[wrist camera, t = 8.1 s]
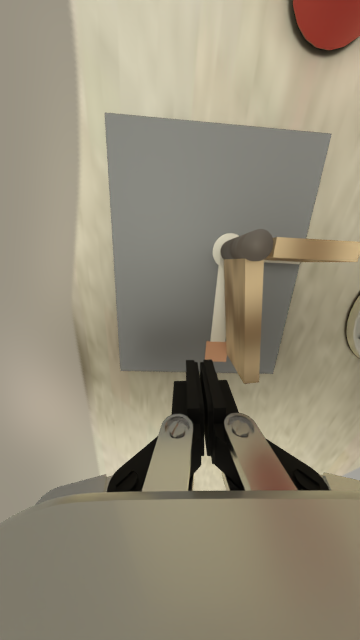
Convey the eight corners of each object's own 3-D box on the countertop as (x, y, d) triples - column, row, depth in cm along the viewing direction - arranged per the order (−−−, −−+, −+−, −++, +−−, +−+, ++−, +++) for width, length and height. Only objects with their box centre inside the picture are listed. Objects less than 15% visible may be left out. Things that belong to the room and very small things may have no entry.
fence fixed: (303, 248, 17) (363, 242, 11) (300, 261, 17) (357, 262, 12) (243, 245, 16) (276, 237, 11) (241, 258, 17) (273, 257, 11)
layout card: (321, 141, 15) (332, 132, 14) (268, 368, 22) (273, 374, 21) (109, 122, 14) (104, 111, 13) (123, 365, 21) (120, 371, 20)
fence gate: (220, 240, 16) (243, 230, 10) (240, 238, 16) (274, 227, 10) (223, 353, 19) (242, 388, 14) (240, 351, 19) (265, 385, 14)
